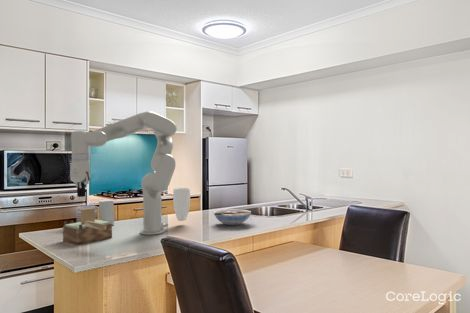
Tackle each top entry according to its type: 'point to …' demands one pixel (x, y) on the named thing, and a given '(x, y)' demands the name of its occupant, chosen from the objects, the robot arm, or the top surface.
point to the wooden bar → (95, 225)
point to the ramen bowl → (232, 216)
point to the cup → (181, 202)
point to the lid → (86, 219)
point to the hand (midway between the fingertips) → (81, 196)
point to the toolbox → (85, 234)
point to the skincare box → (106, 210)
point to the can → (78, 210)
